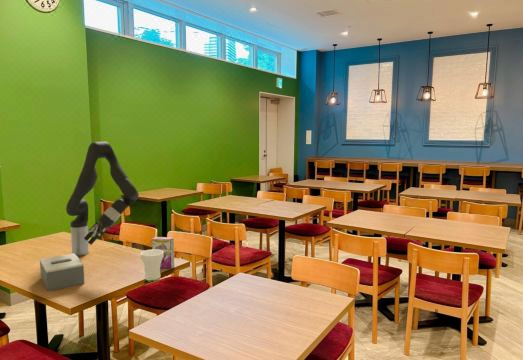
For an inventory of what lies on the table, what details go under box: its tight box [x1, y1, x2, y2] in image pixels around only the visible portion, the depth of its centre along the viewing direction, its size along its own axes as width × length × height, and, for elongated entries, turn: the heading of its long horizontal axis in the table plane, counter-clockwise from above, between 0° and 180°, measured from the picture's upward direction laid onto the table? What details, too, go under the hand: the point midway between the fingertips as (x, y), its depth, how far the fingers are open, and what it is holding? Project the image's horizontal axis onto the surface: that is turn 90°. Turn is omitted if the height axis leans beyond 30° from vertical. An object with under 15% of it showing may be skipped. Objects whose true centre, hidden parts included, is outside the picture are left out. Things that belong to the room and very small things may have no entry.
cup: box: [140, 248, 164, 283], centre depth 193 cm, size 11×11×14 cm
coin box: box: [39, 253, 85, 292], centre depth 191 cm, size 20×16×10 cm
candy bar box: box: [151, 236, 175, 269], centre depth 211 cm, size 11×5×16 cm, turn 84°
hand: (87, 241), depth 197 cm, fingers open, 8 cm apart
